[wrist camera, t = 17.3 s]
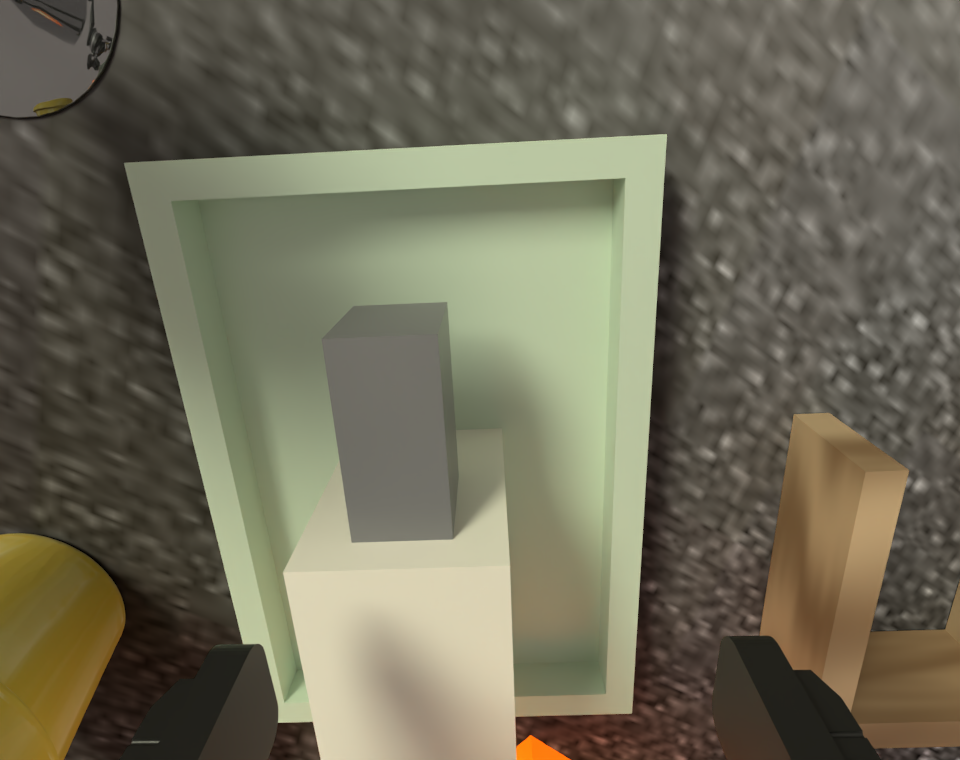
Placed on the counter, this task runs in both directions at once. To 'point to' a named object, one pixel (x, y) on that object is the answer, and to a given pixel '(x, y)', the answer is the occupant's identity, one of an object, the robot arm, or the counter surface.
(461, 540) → the cream and grey blocks
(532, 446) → the tray
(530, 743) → the orange juice
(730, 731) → the robot arm
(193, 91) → the counter surface
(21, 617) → the plant pot
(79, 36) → the wine glass
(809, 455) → the dock
